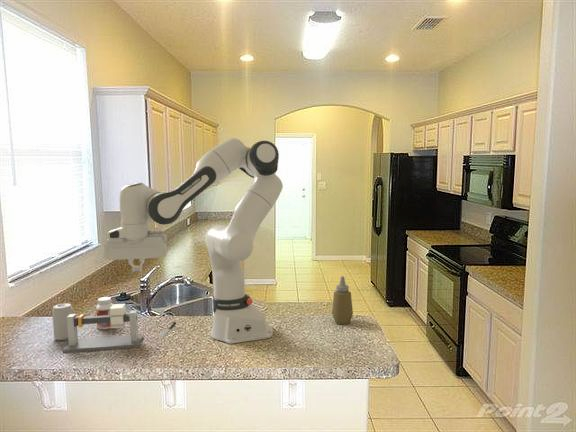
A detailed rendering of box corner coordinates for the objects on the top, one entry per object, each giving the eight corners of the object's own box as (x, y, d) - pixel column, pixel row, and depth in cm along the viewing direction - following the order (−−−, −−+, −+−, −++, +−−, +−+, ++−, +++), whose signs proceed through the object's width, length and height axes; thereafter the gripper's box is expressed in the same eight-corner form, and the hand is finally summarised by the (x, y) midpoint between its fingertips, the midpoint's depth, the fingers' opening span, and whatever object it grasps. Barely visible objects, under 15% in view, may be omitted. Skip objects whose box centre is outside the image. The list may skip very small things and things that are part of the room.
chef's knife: (150, 344, 151) (158, 343, 151) (149, 341, 151) (158, 340, 151) (169, 324, 170) (176, 324, 170) (168, 321, 170) (176, 321, 170)
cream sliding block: (126, 322, 152) (125, 303, 151) (123, 327, 148) (122, 307, 147) (114, 323, 152) (113, 304, 151) (110, 328, 147) (109, 308, 146)
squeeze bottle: (329, 324, 166) (329, 278, 164) (335, 317, 173) (335, 273, 171) (349, 327, 163) (349, 280, 161) (355, 320, 170) (355, 275, 168)
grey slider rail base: (143, 337, 156) (141, 307, 155) (138, 347, 147) (136, 315, 146) (72, 341, 152) (69, 311, 151) (62, 352, 143) (60, 320, 142)
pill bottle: (93, 328, 165) (91, 300, 164) (105, 323, 171) (104, 295, 170) (106, 330, 163) (104, 301, 162) (118, 325, 168) (116, 297, 167)
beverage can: (69, 333, 161) (67, 301, 159) (77, 337, 157) (75, 304, 155) (51, 338, 156) (48, 305, 154) (59, 342, 152) (56, 309, 150)
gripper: (167, 229, 152) (169, 267, 153) (106, 231, 149) (108, 270, 150) (165, 231, 146) (167, 272, 147) (101, 233, 143) (103, 275, 144)
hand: (137, 271), depth 149 cm, fingers closed
